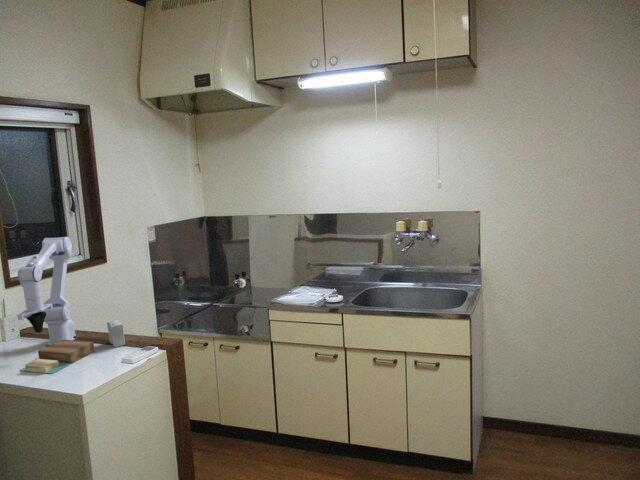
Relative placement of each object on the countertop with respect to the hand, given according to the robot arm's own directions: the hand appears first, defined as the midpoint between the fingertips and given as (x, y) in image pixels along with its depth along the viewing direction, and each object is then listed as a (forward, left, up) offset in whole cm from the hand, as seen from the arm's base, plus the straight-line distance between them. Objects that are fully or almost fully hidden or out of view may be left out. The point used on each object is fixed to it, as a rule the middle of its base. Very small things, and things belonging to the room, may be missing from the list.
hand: (38, 332), depth 200 cm
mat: (+9, +10, -10) cm, 16 cm away
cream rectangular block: (+10, +10, -8) cm, 16 cm away
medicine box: (-17, +21, -10) cm, 29 cm away
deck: (-2, +10, -10) cm, 14 cm away
